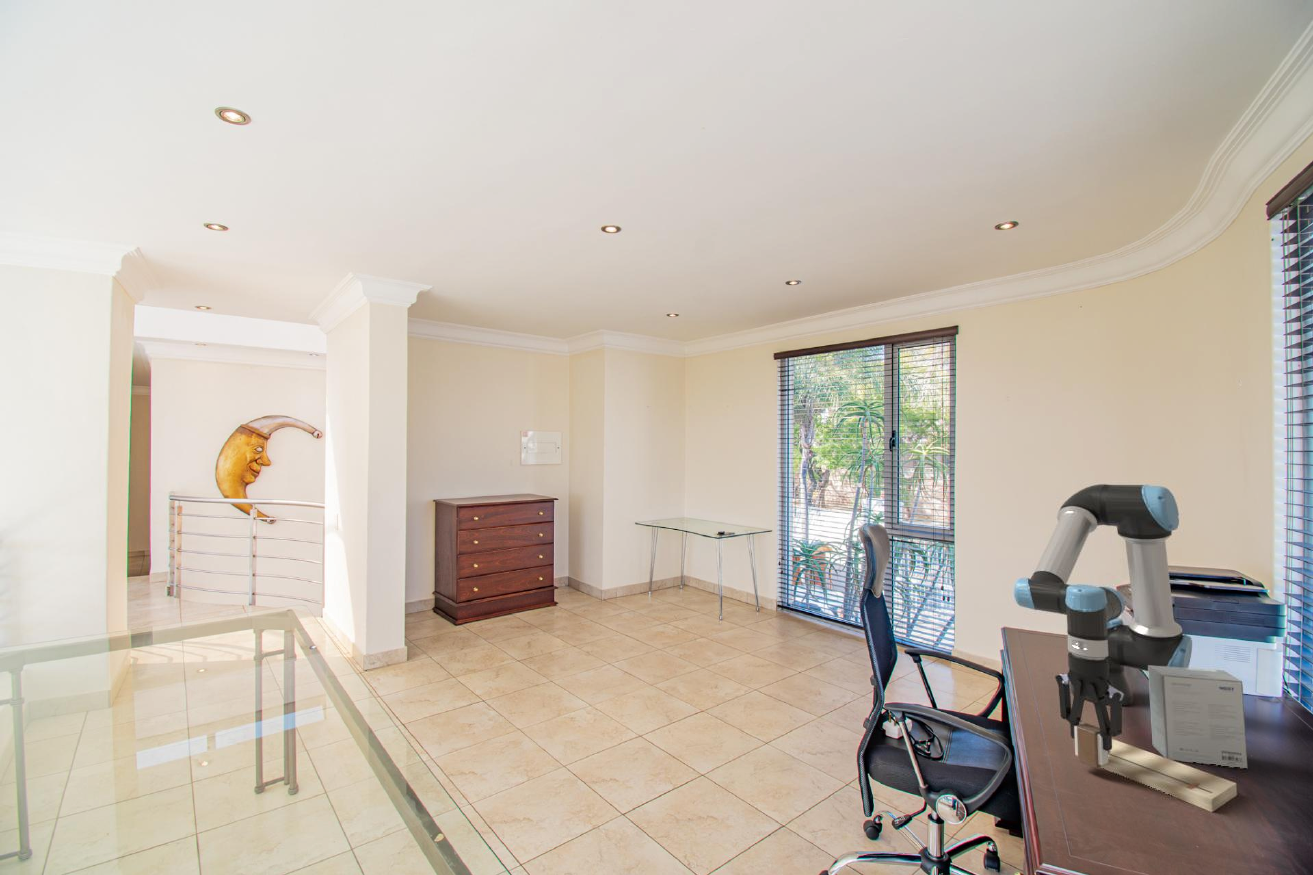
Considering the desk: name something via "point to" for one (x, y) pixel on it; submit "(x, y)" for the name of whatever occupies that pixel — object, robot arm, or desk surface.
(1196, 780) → the birch board
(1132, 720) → the desk surface
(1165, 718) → the hard drive box
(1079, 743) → the wooden block
